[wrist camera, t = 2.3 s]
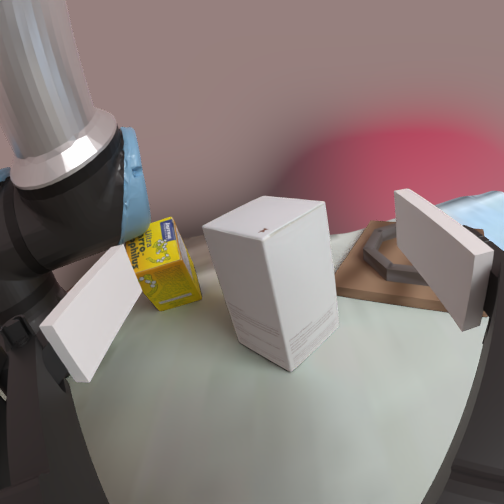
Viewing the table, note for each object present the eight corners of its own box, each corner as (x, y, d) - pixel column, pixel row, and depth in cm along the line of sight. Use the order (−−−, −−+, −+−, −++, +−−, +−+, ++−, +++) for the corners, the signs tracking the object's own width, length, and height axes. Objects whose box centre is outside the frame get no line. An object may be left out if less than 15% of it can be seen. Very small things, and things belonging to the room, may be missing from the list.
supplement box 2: (342, 326, 29) (329, 199, 23) (290, 375, 25) (260, 239, 19) (286, 303, 34) (264, 193, 29) (236, 342, 30) (198, 224, 25)
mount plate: (327, 293, 34) (325, 273, 33) (371, 227, 46) (370, 211, 45) (487, 317, 23) (493, 294, 22) (482, 237, 35) (484, 219, 34)
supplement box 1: (153, 277, 42) (122, 231, 33) (194, 264, 43) (172, 214, 33) (161, 315, 39) (127, 276, 30) (204, 302, 40) (182, 258, 30)
